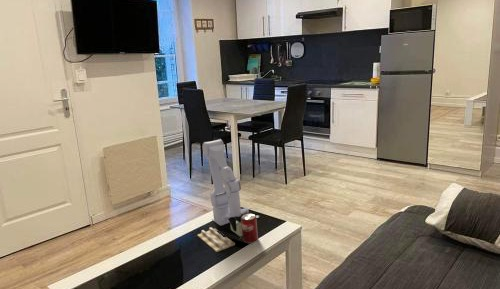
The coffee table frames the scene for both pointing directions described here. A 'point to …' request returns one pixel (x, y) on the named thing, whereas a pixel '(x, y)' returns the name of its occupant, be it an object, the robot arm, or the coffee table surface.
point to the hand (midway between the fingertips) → (236, 229)
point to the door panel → (237, 228)
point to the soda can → (249, 228)
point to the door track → (215, 240)
